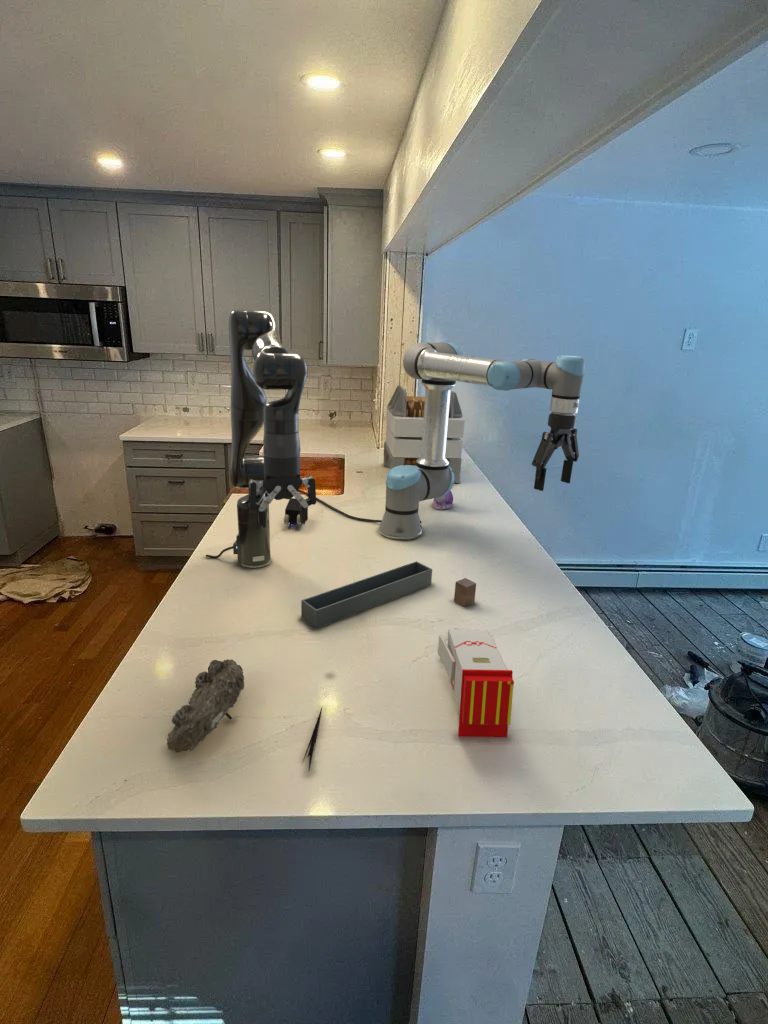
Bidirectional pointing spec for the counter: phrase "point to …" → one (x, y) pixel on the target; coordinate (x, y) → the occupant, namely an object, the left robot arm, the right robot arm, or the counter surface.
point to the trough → (364, 594)
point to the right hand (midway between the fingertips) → (552, 485)
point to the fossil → (206, 705)
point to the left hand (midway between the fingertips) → (283, 524)
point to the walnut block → (465, 592)
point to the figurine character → (292, 513)
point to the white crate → (419, 431)
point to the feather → (313, 740)
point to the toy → (478, 682)
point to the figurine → (443, 501)
